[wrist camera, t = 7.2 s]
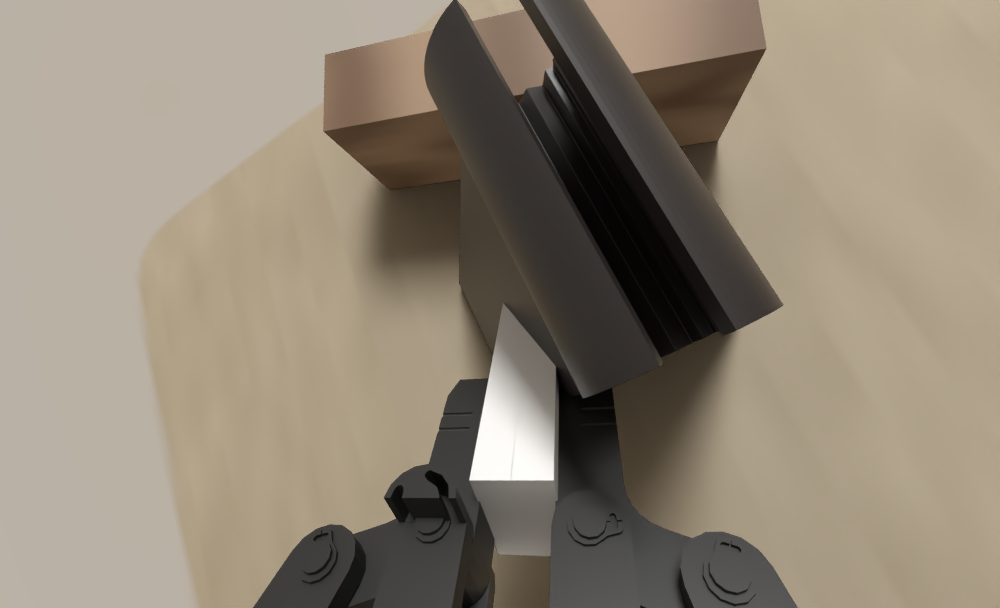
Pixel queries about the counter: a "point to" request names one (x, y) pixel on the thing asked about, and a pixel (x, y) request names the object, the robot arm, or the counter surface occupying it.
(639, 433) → the counter surface
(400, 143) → the block
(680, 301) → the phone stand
